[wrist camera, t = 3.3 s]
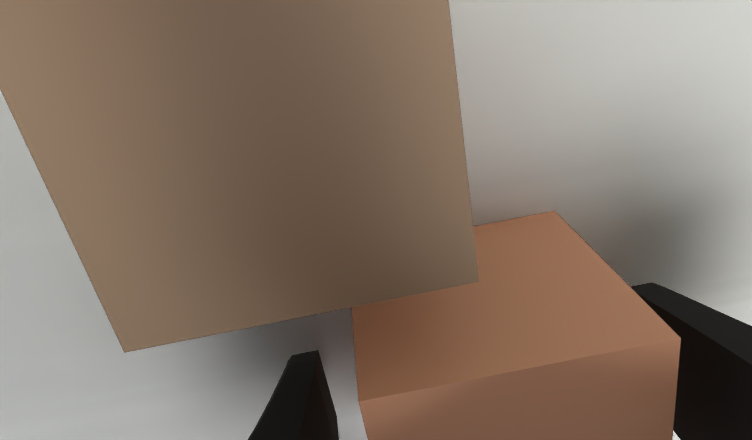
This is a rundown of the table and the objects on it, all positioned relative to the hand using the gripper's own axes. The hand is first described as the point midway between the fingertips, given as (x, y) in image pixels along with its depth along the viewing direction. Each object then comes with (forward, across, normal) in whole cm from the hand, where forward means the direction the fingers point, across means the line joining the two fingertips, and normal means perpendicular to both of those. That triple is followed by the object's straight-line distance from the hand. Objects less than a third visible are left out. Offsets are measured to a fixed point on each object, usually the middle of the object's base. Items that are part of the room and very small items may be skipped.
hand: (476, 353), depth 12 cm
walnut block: (+2, +3, -7) cm, 7 cm away
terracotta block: (+2, 0, 0) cm, 2 cm away
